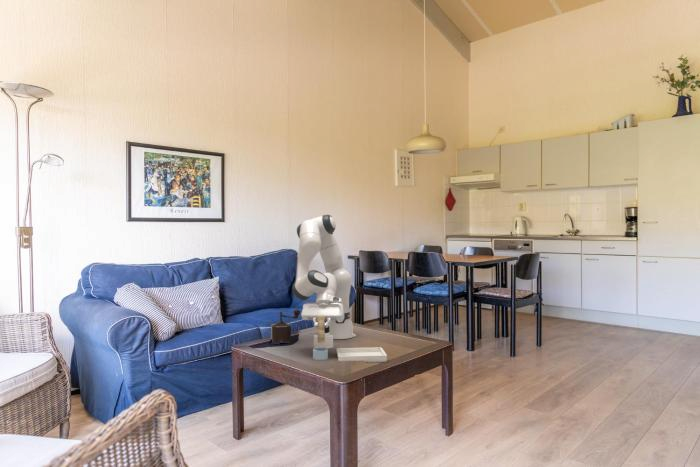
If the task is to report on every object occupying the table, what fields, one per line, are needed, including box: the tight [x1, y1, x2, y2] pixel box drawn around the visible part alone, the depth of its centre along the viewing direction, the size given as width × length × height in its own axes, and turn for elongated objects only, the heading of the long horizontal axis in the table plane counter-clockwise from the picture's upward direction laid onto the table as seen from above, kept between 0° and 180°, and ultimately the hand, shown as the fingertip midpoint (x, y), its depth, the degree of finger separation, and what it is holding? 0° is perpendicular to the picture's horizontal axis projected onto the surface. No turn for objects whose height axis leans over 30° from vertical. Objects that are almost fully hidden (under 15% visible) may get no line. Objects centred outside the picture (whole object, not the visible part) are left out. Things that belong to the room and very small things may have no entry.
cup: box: [312, 347, 329, 361], centre depth 211 cm, size 7×7×5 cm
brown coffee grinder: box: [270, 308, 302, 343], centre depth 250 cm, size 16×11×18 cm
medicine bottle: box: [313, 326, 334, 350], centre depth 232 cm, size 7×7×12 cm
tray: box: [336, 346, 388, 364], centre depth 215 cm, size 16×22×3 cm
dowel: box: [317, 316, 326, 343], centre depth 211 cm, size 3×3×12 cm
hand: (320, 326), depth 211 cm, fingers closed on dowel, 3 cm apart
